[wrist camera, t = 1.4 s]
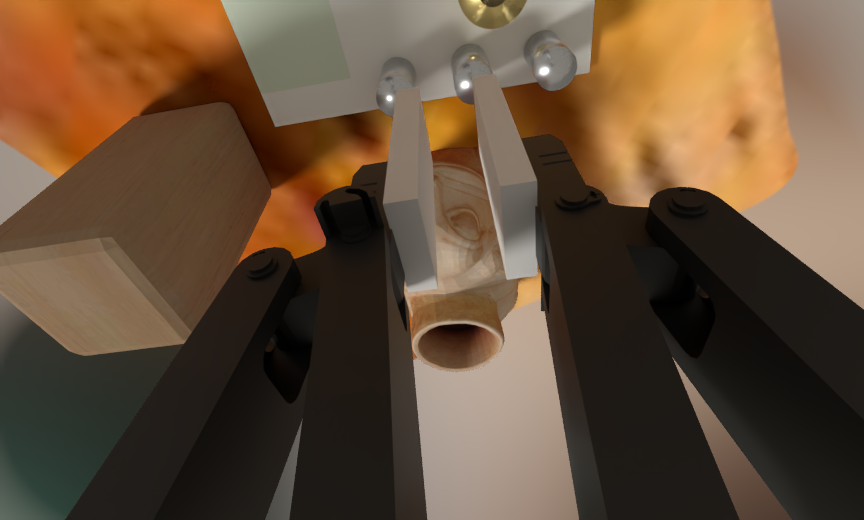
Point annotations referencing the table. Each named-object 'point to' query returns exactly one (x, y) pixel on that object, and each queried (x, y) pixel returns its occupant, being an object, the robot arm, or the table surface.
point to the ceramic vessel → (462, 272)
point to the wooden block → (137, 232)
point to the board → (384, 48)
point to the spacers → (483, 69)
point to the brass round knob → (491, 12)
